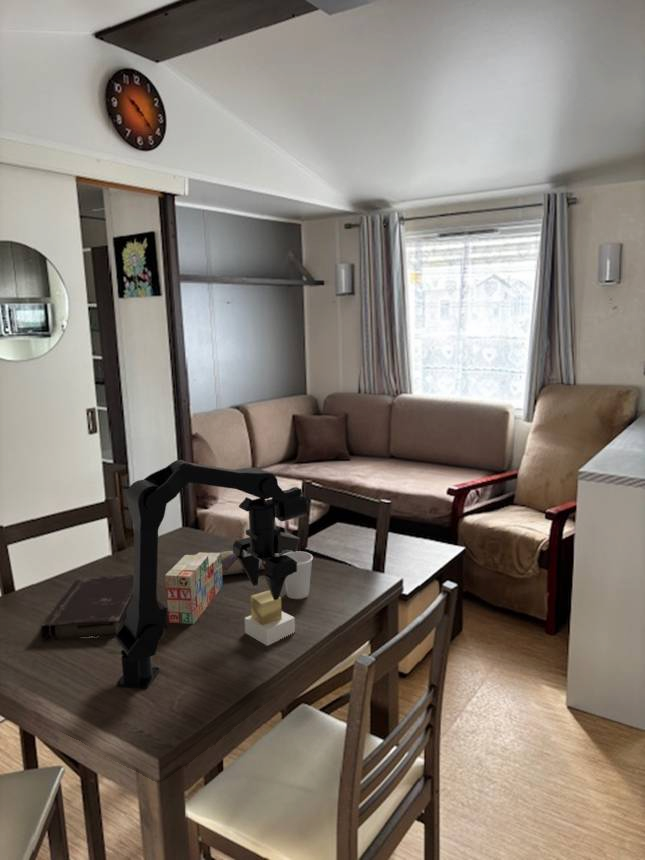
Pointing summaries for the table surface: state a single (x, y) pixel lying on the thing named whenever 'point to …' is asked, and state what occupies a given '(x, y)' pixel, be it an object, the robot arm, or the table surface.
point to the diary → (91, 608)
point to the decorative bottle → (234, 563)
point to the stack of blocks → (192, 586)
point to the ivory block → (270, 629)
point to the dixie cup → (299, 575)
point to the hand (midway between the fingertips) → (265, 592)
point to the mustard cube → (265, 608)
